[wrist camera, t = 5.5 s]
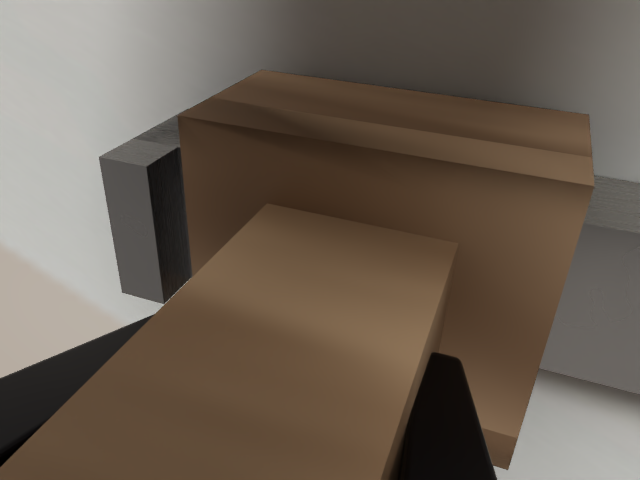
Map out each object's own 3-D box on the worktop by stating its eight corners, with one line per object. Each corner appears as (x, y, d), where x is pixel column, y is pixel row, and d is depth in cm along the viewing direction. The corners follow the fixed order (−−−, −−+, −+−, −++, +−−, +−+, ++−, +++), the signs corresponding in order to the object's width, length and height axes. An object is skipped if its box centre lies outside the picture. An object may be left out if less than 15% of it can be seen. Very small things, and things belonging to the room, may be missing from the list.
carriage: (520, 359, 12) (456, 923, 6) (265, 293, 14) (-25, 663, 7) (588, 114, 10) (628, 638, 3) (261, 69, 11) (-213, 326, 5)
